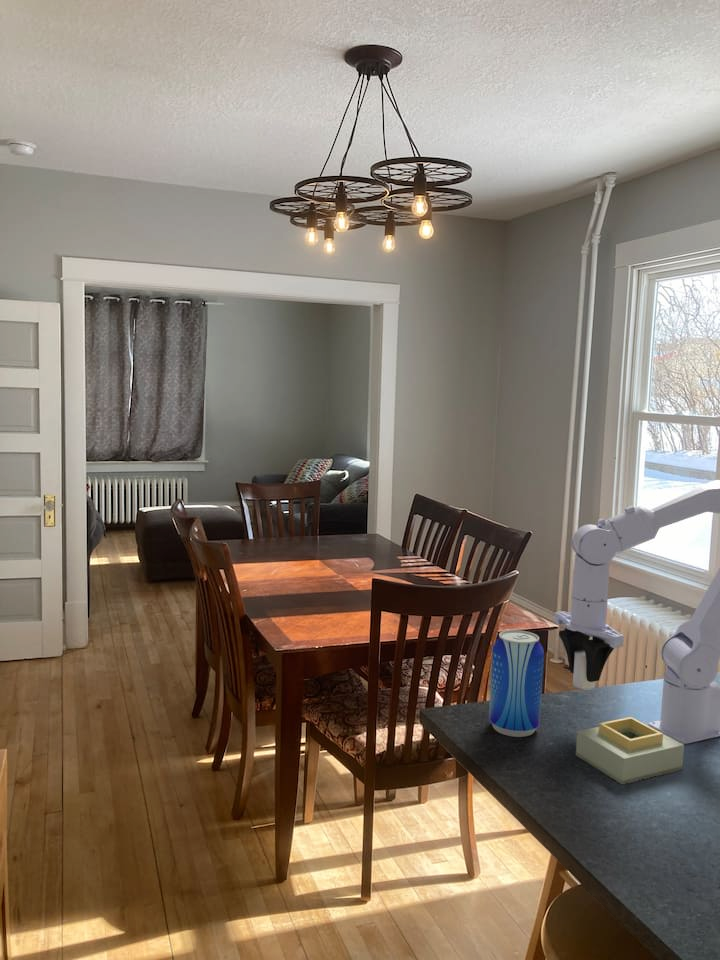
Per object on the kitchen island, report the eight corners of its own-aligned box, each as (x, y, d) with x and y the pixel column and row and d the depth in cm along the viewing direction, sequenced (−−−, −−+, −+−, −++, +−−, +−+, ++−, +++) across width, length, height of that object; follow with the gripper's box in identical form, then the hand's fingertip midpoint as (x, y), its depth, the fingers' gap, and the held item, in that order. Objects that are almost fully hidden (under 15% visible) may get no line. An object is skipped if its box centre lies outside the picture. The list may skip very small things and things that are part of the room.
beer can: (539, 741, 130) (545, 646, 128) (487, 735, 132) (492, 641, 130) (538, 720, 138) (544, 630, 136) (489, 715, 140) (494, 626, 138)
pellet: (584, 680, 138) (586, 649, 137) (599, 687, 134) (601, 655, 134) (568, 682, 136) (570, 651, 135) (582, 690, 133) (584, 658, 132)
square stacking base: (633, 742, 131) (635, 710, 130) (682, 769, 122) (685, 735, 121) (575, 755, 126) (578, 721, 125) (622, 784, 117) (624, 748, 116)
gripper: (542, 589, 138) (538, 665, 140) (601, 611, 125) (596, 695, 127) (574, 585, 141) (570, 660, 143) (635, 607, 128) (629, 688, 130)
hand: (584, 676), depth 135 cm, fingers closed on pellet, 4 cm apart
